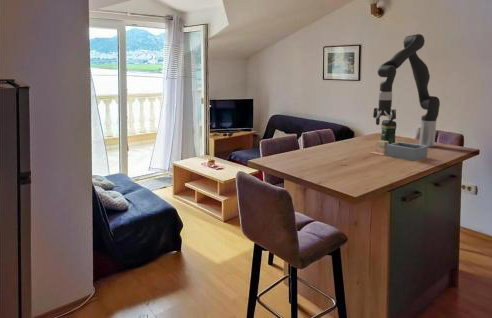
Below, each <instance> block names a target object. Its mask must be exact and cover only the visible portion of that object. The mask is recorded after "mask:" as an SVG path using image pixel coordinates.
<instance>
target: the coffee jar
mask: <svg viewBox="0 0 492 318" xmlns="http://www.w3.org/2000/svg"><path fill="white" fill-rule="evenodd" d="M396 129H397V122H396V121H394V120H393V123H392V126H389V119H384V120H382V121H381V134H380V141H381V140H383V141H389V144H393V143H396V131H397V130H396Z"/></svg>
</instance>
